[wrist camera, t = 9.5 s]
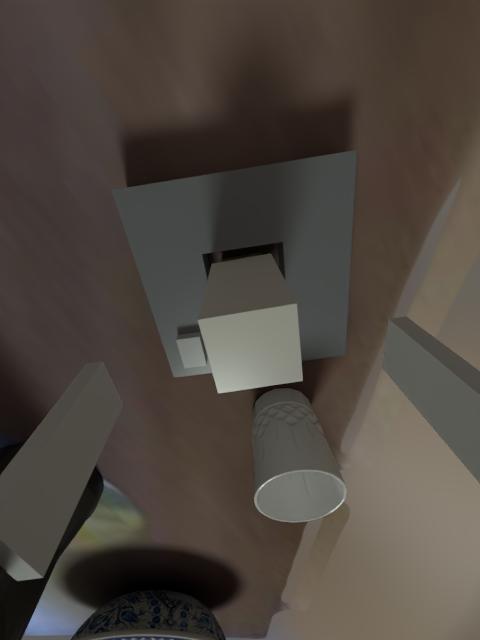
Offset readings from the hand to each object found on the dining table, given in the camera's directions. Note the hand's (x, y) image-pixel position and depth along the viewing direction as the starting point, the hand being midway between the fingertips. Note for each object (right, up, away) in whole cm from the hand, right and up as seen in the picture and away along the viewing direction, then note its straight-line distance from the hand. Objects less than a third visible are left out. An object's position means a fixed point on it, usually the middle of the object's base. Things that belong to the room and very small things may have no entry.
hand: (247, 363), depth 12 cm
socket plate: (0, +6, +11) cm, 13 cm away
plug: (0, +6, +11) cm, 13 cm away
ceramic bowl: (-18, -58, +45) cm, 75 cm away
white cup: (+5, -8, +19) cm, 21 cm away
